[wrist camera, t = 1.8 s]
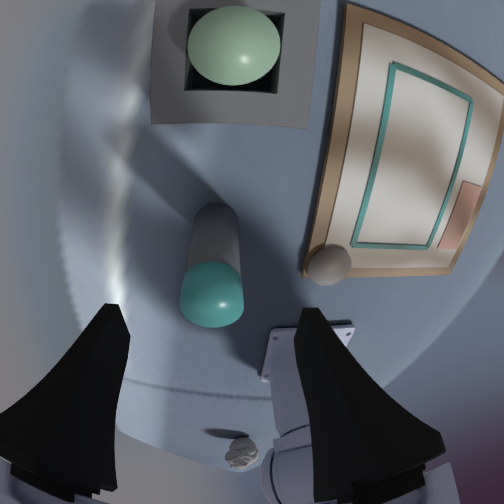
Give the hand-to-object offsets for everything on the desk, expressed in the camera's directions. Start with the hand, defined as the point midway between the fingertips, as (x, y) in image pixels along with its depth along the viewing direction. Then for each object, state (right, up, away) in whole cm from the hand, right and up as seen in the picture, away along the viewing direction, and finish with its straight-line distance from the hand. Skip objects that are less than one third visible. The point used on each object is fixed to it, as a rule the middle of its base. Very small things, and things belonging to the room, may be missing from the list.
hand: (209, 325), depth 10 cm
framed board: (+13, +8, +5) cm, 16 cm away
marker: (0, +5, +7) cm, 8 cm away
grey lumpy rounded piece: (0, -32, +34) cm, 47 cm away
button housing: (+1, +13, +1) cm, 13 cm away
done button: (+1, +13, +1) cm, 13 cm away
